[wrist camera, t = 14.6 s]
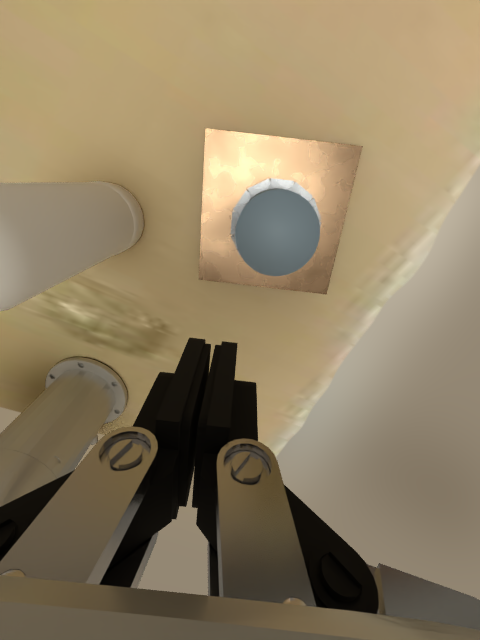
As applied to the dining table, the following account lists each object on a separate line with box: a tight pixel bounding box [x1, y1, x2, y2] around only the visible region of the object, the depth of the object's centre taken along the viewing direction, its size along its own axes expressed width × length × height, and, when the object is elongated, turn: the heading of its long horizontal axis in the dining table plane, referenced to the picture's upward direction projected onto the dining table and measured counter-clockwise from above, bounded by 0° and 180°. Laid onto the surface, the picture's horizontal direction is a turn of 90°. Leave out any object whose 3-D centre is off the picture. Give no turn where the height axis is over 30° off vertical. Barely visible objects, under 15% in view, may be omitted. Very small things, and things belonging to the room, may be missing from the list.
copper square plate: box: [199, 129, 363, 294], centre depth 31 cm, size 16×16×8 cm
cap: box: [235, 188, 320, 276], centre depth 27 cm, size 7×7×8 cm
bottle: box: [0, 181, 144, 311], centre depth 22 cm, size 8×8×30 cm
